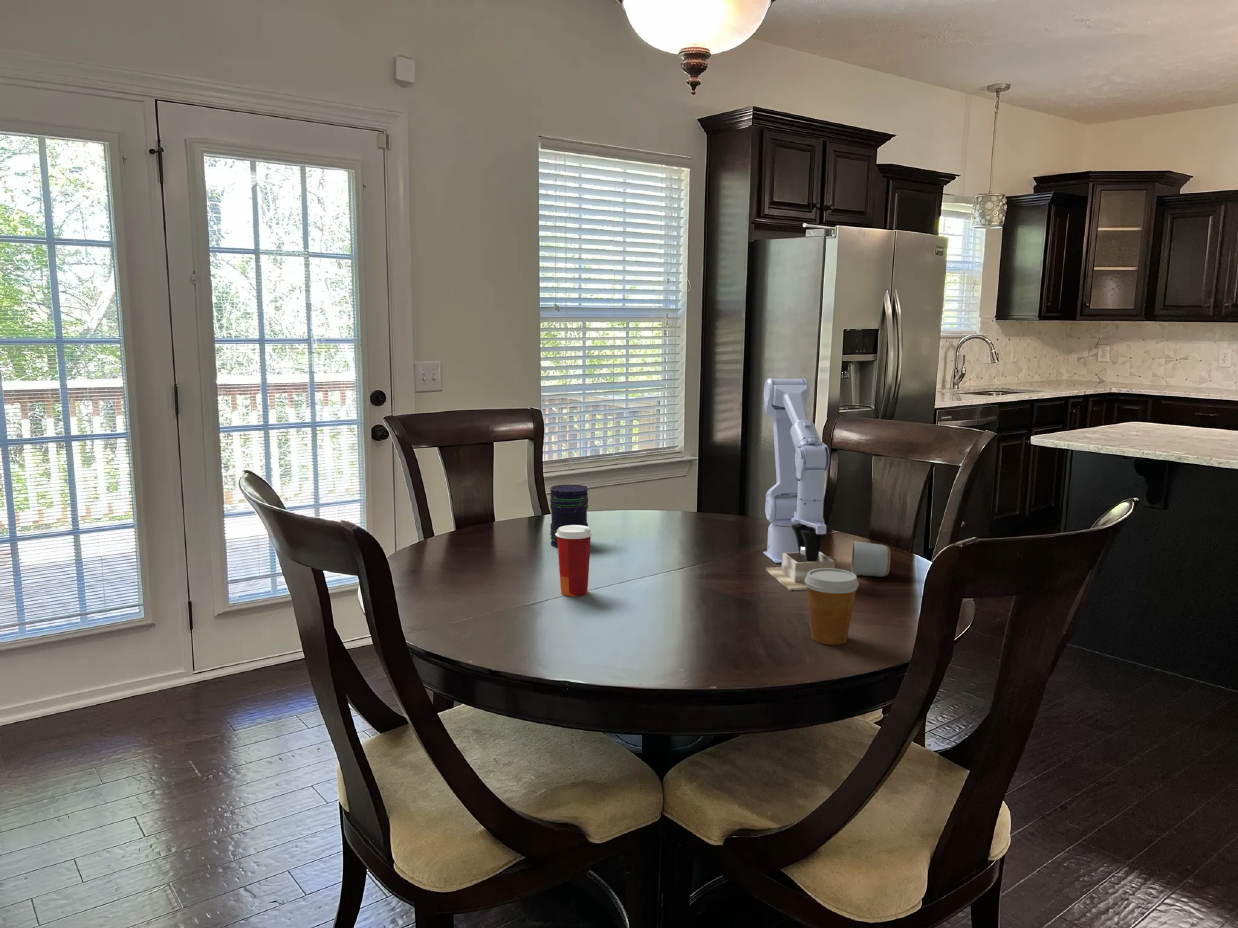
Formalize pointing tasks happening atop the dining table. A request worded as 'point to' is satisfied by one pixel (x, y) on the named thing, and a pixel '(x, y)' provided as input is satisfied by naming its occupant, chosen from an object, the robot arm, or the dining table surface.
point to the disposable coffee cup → (830, 603)
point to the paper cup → (574, 559)
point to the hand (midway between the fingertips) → (808, 558)
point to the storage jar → (567, 508)
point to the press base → (798, 569)
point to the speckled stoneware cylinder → (870, 559)
